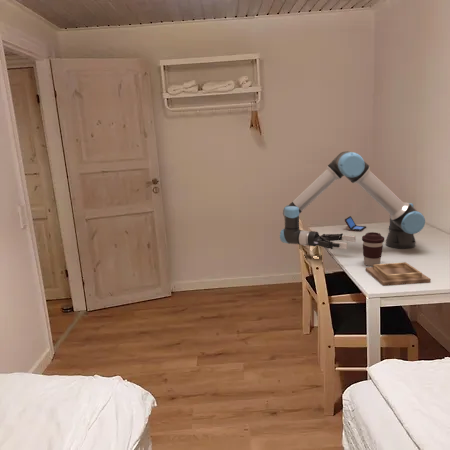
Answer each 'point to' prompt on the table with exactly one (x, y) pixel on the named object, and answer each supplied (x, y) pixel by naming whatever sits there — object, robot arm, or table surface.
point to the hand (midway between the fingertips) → (351, 242)
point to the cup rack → (396, 274)
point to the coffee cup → (372, 248)
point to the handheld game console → (353, 225)
